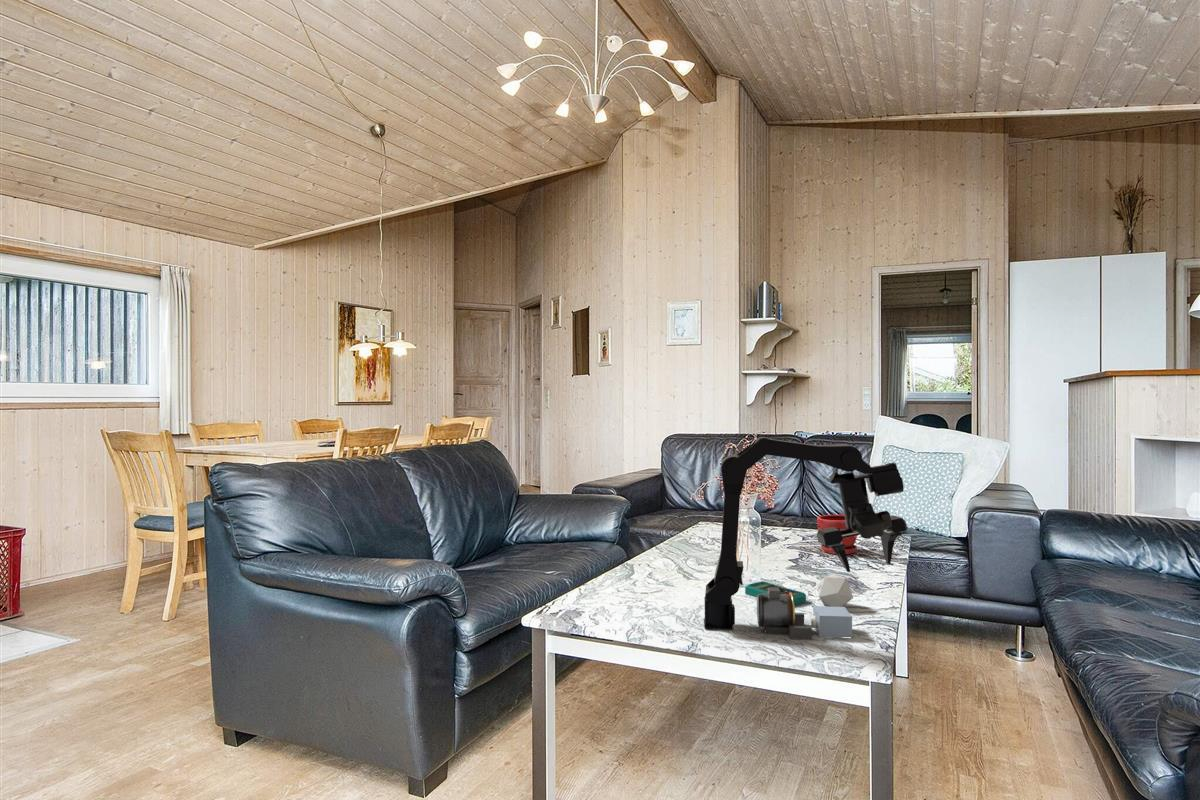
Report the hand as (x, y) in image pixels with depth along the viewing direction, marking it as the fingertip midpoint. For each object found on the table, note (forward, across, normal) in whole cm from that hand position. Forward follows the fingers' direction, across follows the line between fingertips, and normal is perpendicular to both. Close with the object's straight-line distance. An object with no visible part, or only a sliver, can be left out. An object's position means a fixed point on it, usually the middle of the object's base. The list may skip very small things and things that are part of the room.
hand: (868, 568), depth 157 cm
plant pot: (+16, +19, +81) cm, 85 cm away
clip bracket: (+12, -17, +2) cm, 21 cm away
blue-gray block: (+13, -10, +1) cm, 17 cm away
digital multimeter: (+12, -16, +28) cm, 35 cm away
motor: (+10, -24, +3) cm, 26 cm away
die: (+14, -3, +20) cm, 25 cm away
